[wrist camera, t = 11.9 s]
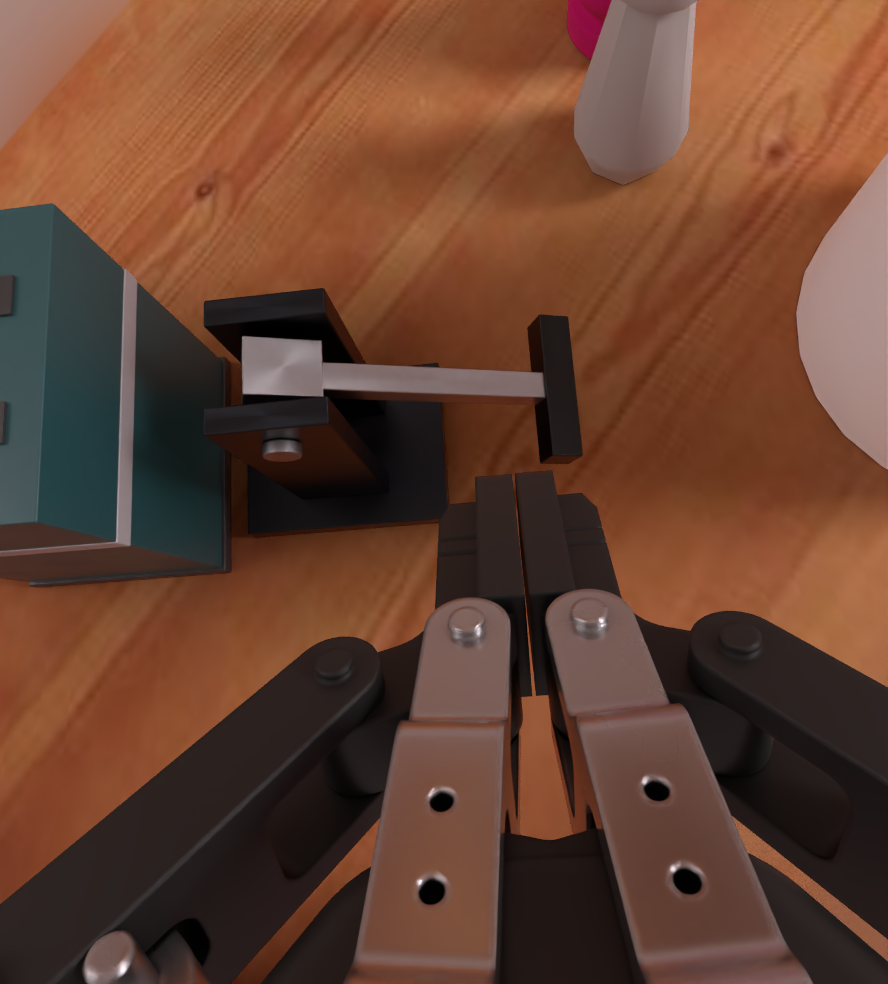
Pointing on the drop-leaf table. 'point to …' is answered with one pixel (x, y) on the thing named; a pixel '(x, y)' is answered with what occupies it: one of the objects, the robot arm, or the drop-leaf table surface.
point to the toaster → (101, 419)
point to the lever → (428, 382)
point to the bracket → (325, 434)
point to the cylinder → (851, 319)
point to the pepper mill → (586, 23)
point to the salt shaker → (637, 89)
